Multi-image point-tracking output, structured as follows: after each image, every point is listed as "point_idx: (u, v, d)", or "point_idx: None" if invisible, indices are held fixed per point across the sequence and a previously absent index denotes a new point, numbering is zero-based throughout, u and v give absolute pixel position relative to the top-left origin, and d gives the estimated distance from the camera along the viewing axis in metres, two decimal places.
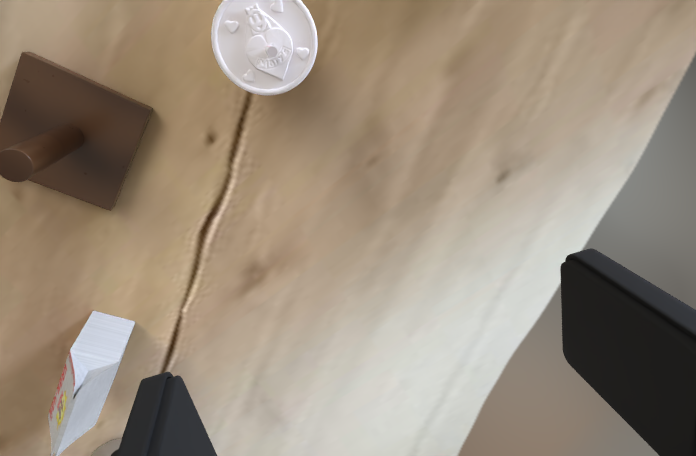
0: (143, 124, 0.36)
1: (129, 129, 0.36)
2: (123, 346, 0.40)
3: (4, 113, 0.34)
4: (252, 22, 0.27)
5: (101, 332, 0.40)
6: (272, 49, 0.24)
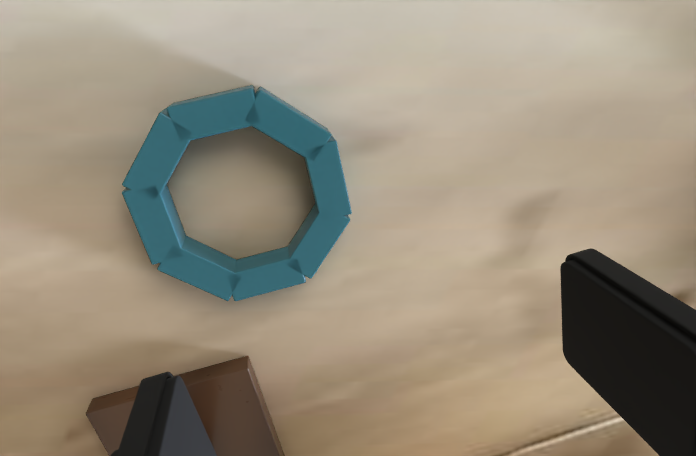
0: None
1: None
2: None
3: None
4: None
5: None
6: None
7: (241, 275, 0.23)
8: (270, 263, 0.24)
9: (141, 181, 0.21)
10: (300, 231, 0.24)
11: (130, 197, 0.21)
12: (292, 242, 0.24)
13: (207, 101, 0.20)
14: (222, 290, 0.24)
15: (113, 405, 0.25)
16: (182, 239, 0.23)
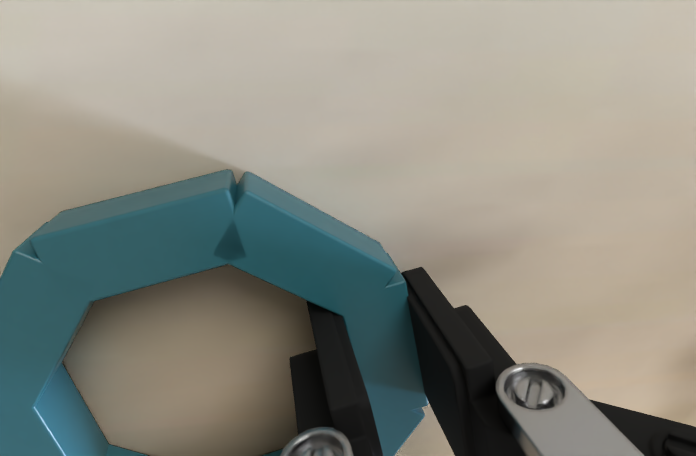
0: None
1: None
2: None
3: None
4: None
5: None
6: None
7: None
8: None
9: None
10: None
11: None
12: None
13: (125, 220, 0.09)
14: None
15: None
16: None
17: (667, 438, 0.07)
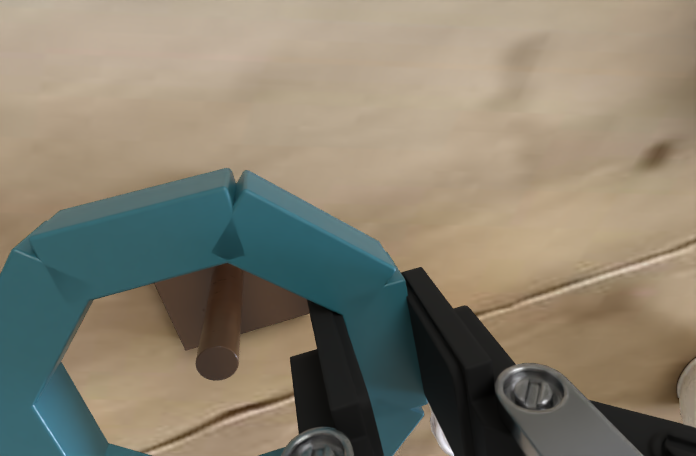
0: (293, 317, 0.33)
1: (279, 311, 0.32)
2: None
3: None
4: None
5: None
6: None
7: None
8: None
9: None
10: None
11: None
12: None
13: (124, 219, 0.09)
14: None
15: None
16: None
17: (666, 438, 0.07)
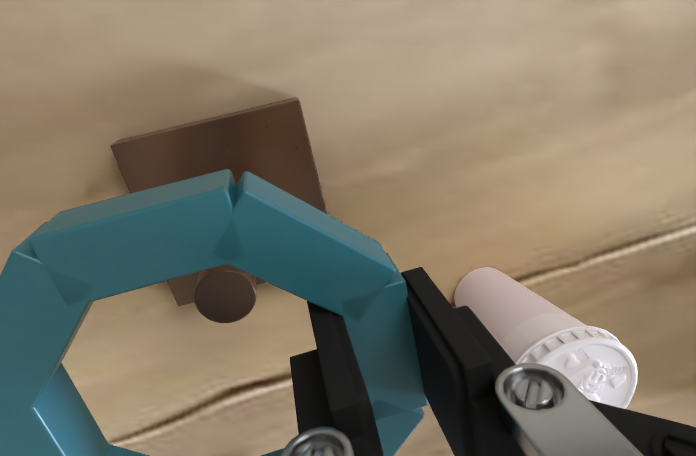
0: None
1: None
2: None
3: (202, 125, 0.22)
4: (589, 377, 0.21)
5: None
6: None
7: None
8: None
9: None
10: None
11: None
12: None
13: (124, 220, 0.09)
14: None
15: (142, 137, 0.22)
16: None
17: (666, 438, 0.07)
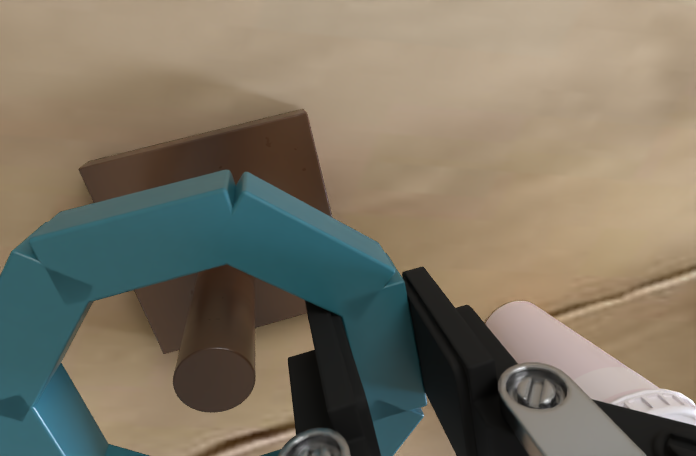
0: None
1: None
2: None
3: (189, 143, 0.18)
4: None
5: None
6: None
7: None
8: None
9: None
10: None
11: None
12: None
13: (123, 221, 0.09)
14: None
15: (117, 158, 0.18)
16: None
17: (669, 438, 0.07)
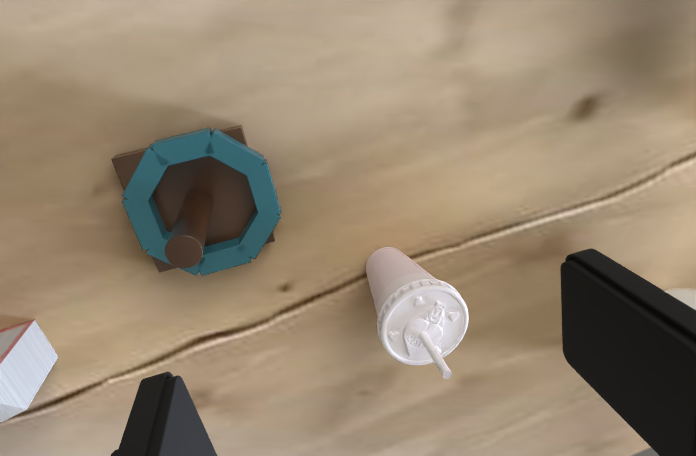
0: None
1: None
2: (37, 388, 0.34)
3: None
4: (432, 312, 0.31)
5: (29, 355, 0.34)
6: (447, 372, 0.28)
7: (205, 257, 0.34)
8: (225, 248, 0.34)
9: (135, 193, 0.31)
10: (247, 226, 0.35)
11: (127, 204, 0.31)
12: (241, 234, 0.35)
13: (178, 140, 0.31)
14: (192, 268, 0.34)
15: (133, 153, 0.32)
16: (163, 232, 0.33)
17: None
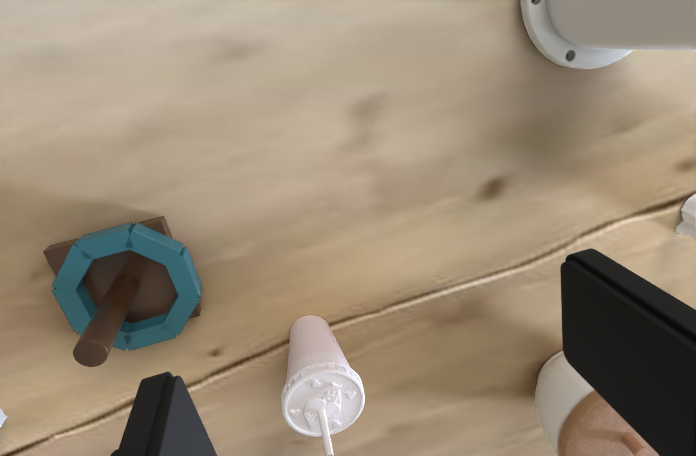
0: None
1: None
2: None
3: None
4: (328, 392, 0.34)
5: None
6: (330, 455, 0.31)
7: (132, 335, 0.37)
8: (150, 327, 0.38)
9: (63, 284, 0.35)
10: (171, 305, 0.38)
11: (57, 293, 0.35)
12: (167, 311, 0.38)
13: (100, 238, 0.34)
14: (120, 344, 0.37)
15: (63, 246, 0.35)
16: (93, 314, 0.37)
17: None
